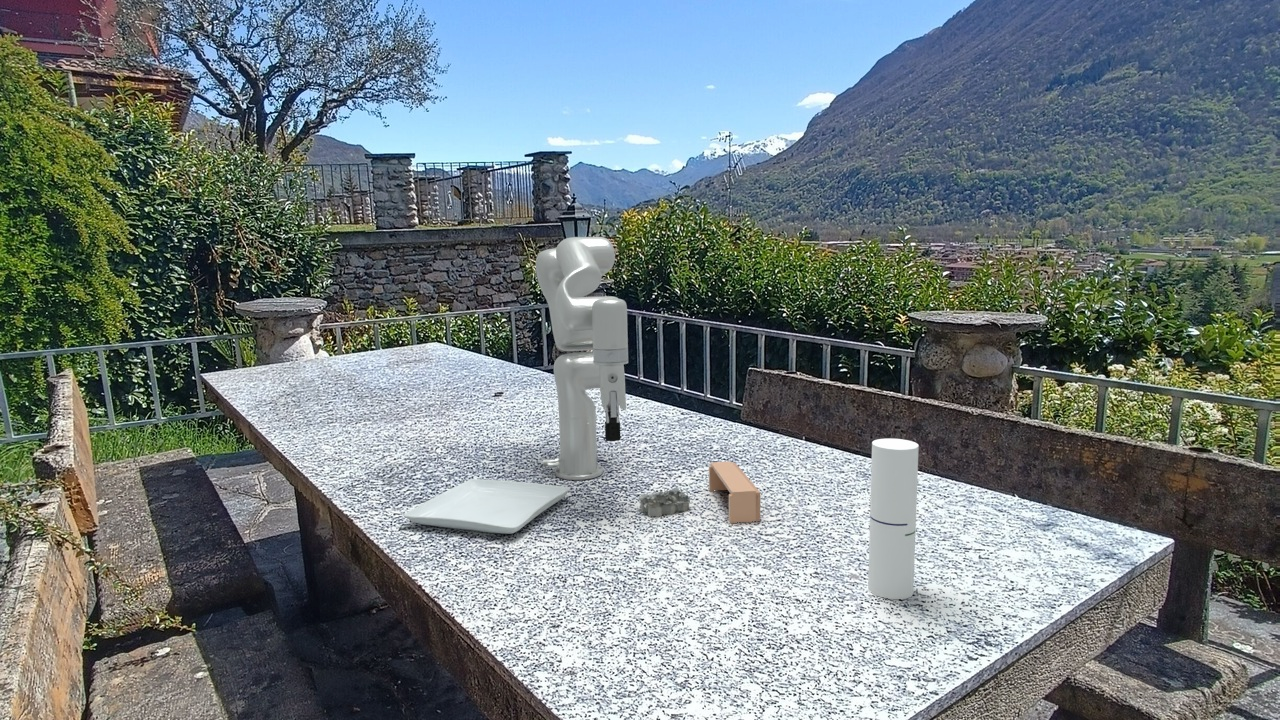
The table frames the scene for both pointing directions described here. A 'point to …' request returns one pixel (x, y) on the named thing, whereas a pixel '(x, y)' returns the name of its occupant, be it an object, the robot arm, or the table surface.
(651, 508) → the egg carton
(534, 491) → the square plate
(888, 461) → the cylindrical container
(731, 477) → the shelf
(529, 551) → the table surface
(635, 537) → the table surface
